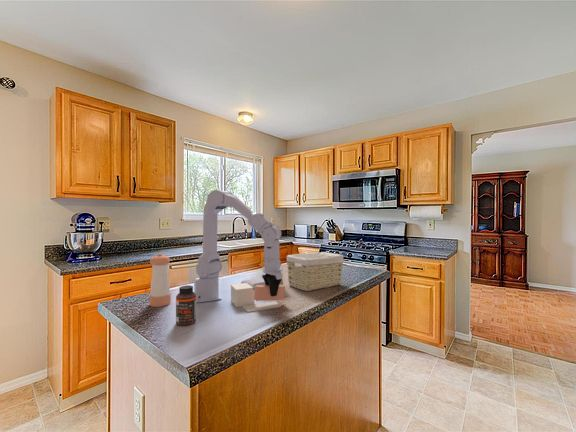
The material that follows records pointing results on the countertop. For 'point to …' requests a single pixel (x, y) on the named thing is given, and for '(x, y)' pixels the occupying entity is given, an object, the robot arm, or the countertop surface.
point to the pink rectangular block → (268, 293)
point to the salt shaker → (160, 281)
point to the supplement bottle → (185, 306)
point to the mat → (261, 306)
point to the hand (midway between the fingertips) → (272, 294)
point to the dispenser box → (242, 294)
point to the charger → (254, 282)
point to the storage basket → (314, 270)
